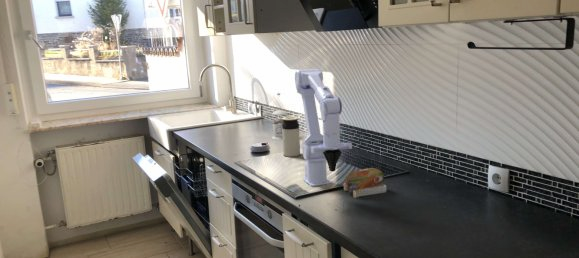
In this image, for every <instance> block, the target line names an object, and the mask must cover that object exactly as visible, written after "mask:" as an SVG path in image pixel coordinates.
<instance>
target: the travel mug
mask: <svg viewBox="0 0 579 258" xmlns="http://www.w3.org/2000/svg"><path fill="white" fill-rule="evenodd" d="M282 119H283V124H282V133H283V139H282V152H283V156H285V157H288V158H290V157H291V158H292V157H293V158H294V157H298V156H300V155H301V143H300V124H299V121H298V120H299V117H298V116H290V117H288V116H287V117H285V116H284V117H282Z"/></svg>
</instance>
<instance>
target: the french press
mask: <svg viewBox="0 0 579 258" xmlns="http://www.w3.org/2000/svg"><path fill="white" fill-rule="evenodd" d="M276 96H281V93H280V92H278V93H276ZM287 113H288V112H287V111H284V110H282V109H281V110H280V108H278V109H277V110H275V111H273V112H272V113H271V114H272V115H273V116H279V118H277V119H274V120H273V122H272V129H273V130H272V131H273V136H271V139H273V140H283V133H282V124H283V119H281V116H284V117H291V116H290V115H288V114H287Z"/></svg>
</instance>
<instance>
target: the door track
mask: <svg viewBox="0 0 579 258" xmlns="http://www.w3.org/2000/svg"><path fill="white" fill-rule="evenodd" d="M343 191H347V192H349V191H348V190H347V188H346V185H345V182H344V183H343ZM383 193H387V185H385V184H383V185H377V186H371V187H364V188H359V189H356V190H353V193H352V198H354V199H356V198H359V197H362V196H364V197H365V196H370V195H376V194H383Z"/></svg>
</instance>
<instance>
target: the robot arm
mask: <svg viewBox="0 0 579 258" xmlns="http://www.w3.org/2000/svg"><path fill="white" fill-rule="evenodd" d="M323 81H324V74H323V71H322V69H321V68H312V69H311V68H310V69H297V70H295V73H294V83H295V89H296V93H297V94H299V95H301V99H302V104H303V105H302V106H303V110H304V112H303V113H304V117H305V123H306V128H307V129H306V130H307V136H306V137H305V138H304V139H303V140H302V143H301V144H302V156H303V158H304V160H305V162H304V174H305V178H303V179H302V180H303V181H305V182H306V183H307V184H309V186H310V187H316V186H323V185H329V184H331V181H329V180H328V177H327V175H328V174H327V166H328V170H329V171H330V172H336V168H337V165H338V164H337V163H338V161H339V159H340V157H341V155H342V151H341V150H348V149H349V150H352V149H353V143H352V142H349V141H348V142H341V139H340V137H341V136H340V135H341V134H340V133H341V129H340V128H341V127H340V125H341V124H340V115H341V114H342V112H343V111H342V110H343V103H342V100H341V98H340V97H339V96H334V94H333V92H332V91H331V89H330V88H329V87H328V86H326V85H324V82H323ZM316 101H317V102H318V104H319V111H320V116H321V117H320V118H321V120H322V133H321V128H320V123H319V115H318V110H317V103H316Z"/></svg>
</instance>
